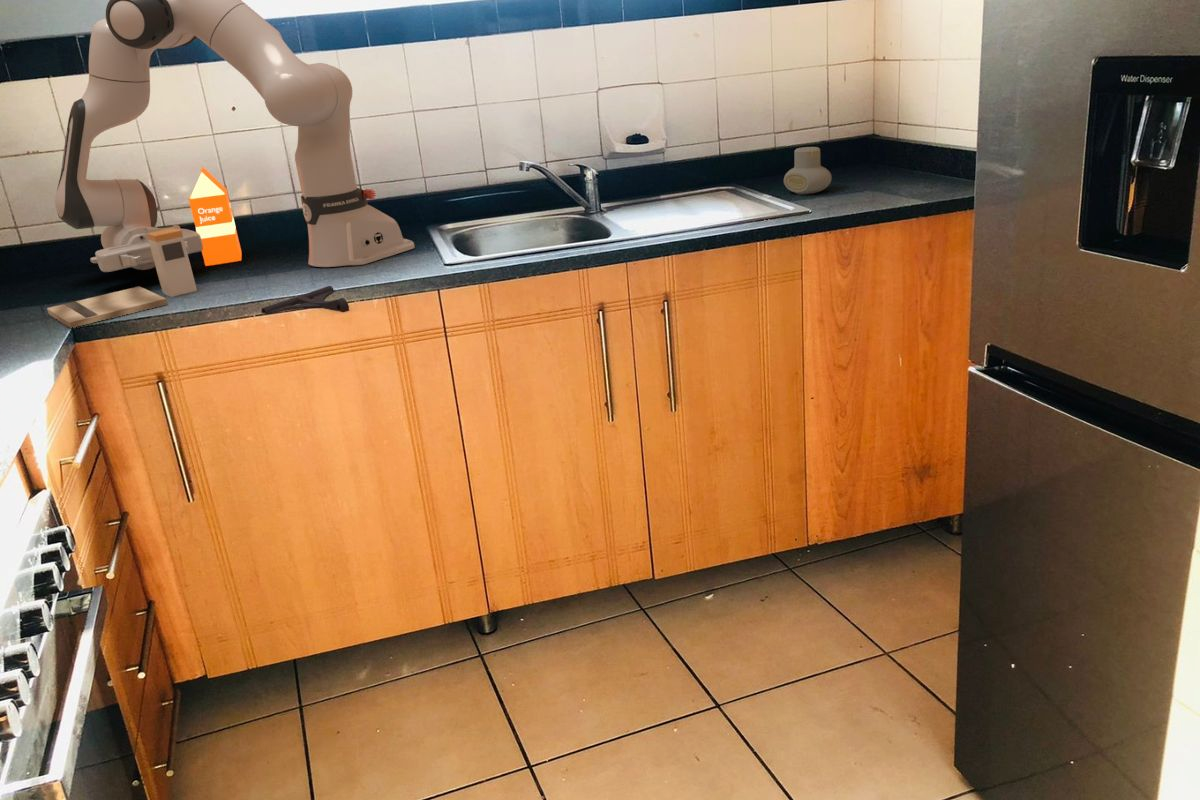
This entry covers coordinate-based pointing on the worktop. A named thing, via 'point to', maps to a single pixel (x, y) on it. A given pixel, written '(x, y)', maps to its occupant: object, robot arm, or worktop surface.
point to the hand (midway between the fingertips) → (161, 255)
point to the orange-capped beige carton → (171, 262)
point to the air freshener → (807, 172)
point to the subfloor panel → (106, 306)
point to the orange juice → (214, 221)
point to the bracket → (310, 302)
